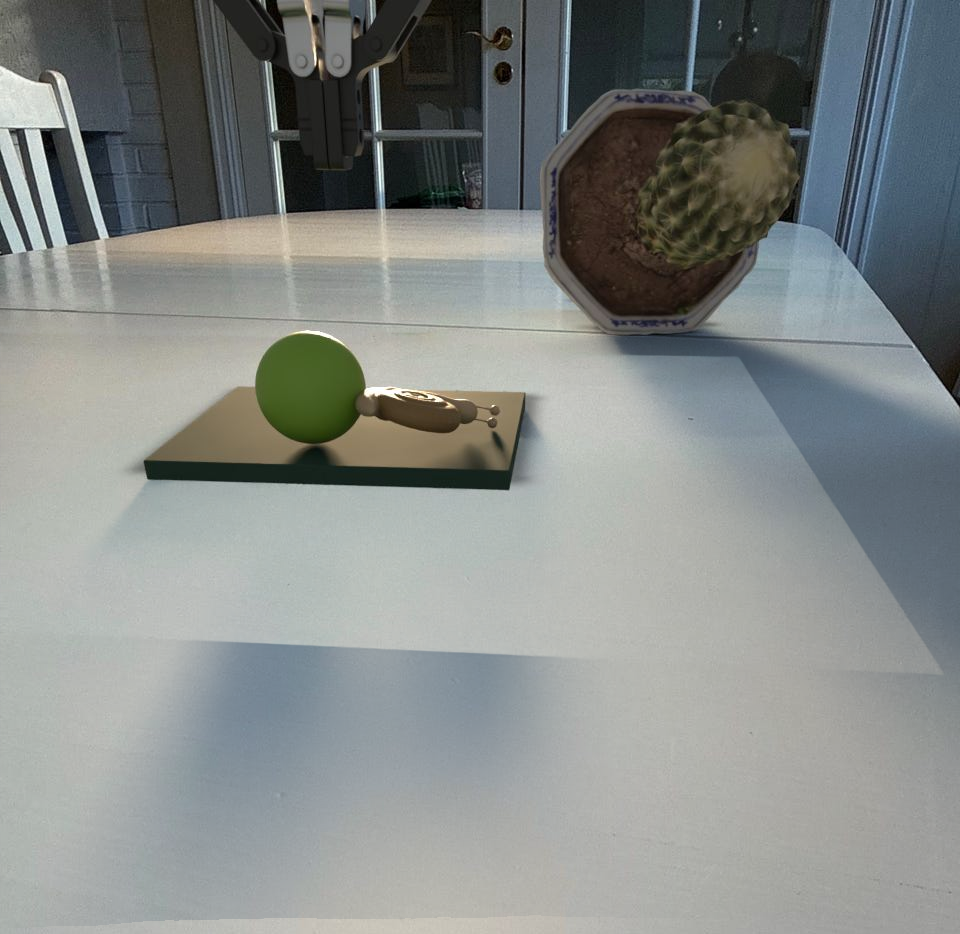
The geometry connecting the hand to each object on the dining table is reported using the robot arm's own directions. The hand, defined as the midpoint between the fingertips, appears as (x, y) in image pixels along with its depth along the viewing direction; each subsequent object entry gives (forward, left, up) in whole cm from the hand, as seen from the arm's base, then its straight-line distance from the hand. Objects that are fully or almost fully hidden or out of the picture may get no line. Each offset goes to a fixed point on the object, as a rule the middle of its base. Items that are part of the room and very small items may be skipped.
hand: (333, 168), depth 44 cm
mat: (0, -1, -13) cm, 13 cm away
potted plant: (+18, +28, -14) cm, 36 cm away
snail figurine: (-4, -4, -9) cm, 11 cm away
